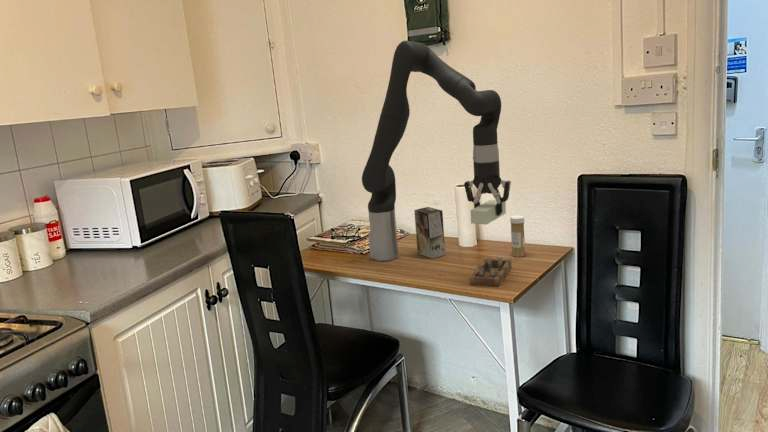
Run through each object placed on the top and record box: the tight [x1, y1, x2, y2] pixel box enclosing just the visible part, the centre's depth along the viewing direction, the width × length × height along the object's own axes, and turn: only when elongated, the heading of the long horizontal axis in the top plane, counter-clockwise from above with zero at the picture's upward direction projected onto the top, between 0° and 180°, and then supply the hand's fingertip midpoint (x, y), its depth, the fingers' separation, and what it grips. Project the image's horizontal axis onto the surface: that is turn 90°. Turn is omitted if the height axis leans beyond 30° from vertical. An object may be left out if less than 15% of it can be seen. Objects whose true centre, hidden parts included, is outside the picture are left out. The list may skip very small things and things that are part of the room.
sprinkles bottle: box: [509, 214, 526, 258], centre depth 207 cm, size 5×5×14 cm
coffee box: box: [414, 206, 446, 259], centre depth 216 cm, size 9×6×16 cm
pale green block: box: [469, 199, 507, 225], centre depth 186 cm, size 14×5×4 cm, turn 146°
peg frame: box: [469, 257, 512, 288], centre depth 191 cm, size 18×9×4 cm, turn 157°
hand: (488, 214), depth 187 cm, fingers closed on pale green block, 5 cm apart
